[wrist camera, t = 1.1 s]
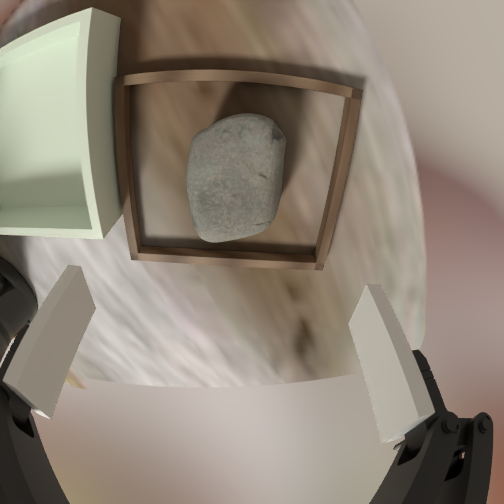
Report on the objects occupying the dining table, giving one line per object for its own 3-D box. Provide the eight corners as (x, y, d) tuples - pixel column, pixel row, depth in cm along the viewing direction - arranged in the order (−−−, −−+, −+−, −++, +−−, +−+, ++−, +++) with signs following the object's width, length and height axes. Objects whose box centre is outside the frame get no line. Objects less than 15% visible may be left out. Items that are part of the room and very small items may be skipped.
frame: (135, 252, 31) (131, 259, 29) (121, 76, 19) (114, 76, 18) (319, 262, 32) (322, 270, 31) (356, 89, 21) (362, 90, 20)
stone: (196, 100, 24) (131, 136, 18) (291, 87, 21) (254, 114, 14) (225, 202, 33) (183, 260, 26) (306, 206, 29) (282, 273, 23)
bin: (2, 212, 26) (-22, 233, 21) (-15, 72, 14) (-45, 80, 9) (124, 210, 27) (103, 239, 23) (121, 18, 16) (92, 7, 11)
